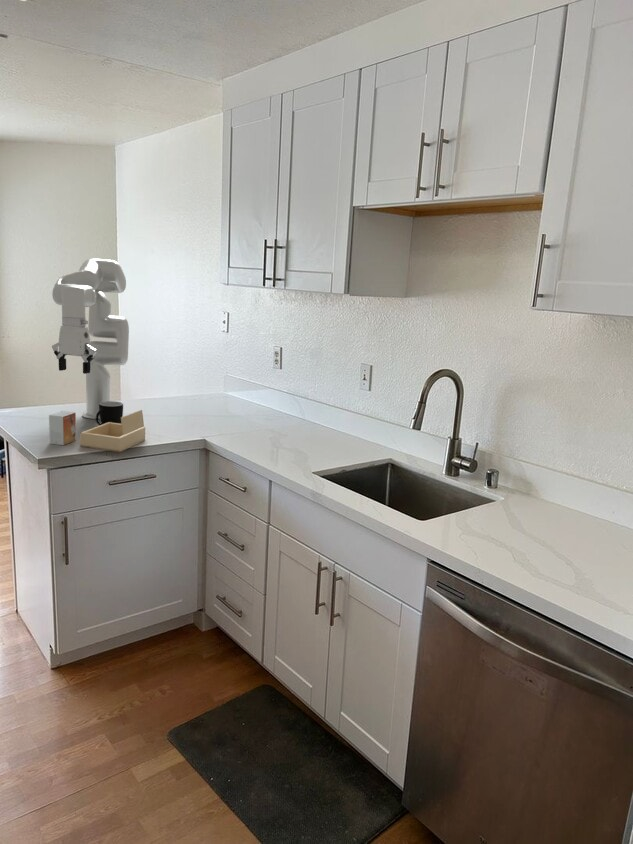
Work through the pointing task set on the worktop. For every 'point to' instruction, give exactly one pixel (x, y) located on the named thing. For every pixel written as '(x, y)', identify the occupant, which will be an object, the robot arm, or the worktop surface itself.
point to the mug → (110, 412)
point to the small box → (62, 427)
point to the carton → (111, 437)
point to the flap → (132, 422)
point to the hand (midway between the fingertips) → (74, 371)
